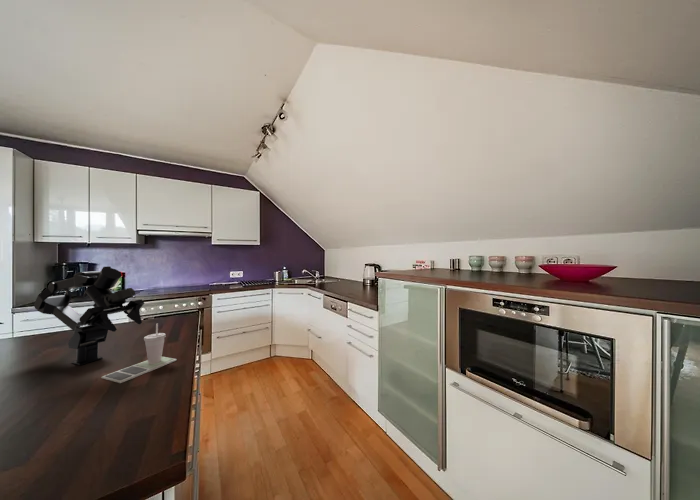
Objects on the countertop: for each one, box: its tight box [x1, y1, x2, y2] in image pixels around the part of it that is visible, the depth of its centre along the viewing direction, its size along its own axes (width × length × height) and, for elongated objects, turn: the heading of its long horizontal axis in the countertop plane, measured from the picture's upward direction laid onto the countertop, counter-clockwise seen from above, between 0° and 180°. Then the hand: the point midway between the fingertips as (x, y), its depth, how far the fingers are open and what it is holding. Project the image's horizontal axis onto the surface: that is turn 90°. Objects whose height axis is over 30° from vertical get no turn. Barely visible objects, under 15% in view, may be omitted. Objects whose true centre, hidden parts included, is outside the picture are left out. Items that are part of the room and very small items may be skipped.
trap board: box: [100, 356, 177, 384], centre depth 86 cm, size 10×18×1 cm, turn 161°
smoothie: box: [143, 323, 167, 364], centre depth 90 cm, size 6×6×14 cm
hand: (128, 326), depth 90 cm, fingers open, 9 cm apart
